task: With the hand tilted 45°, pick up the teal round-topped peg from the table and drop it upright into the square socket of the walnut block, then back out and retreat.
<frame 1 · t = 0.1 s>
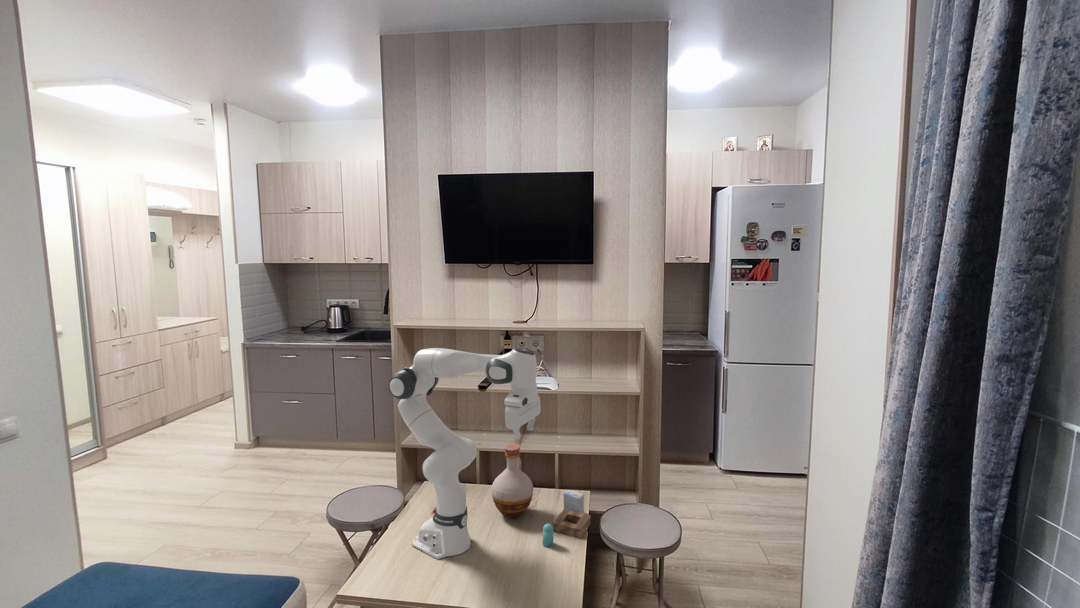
hand: (524, 434, 163), 48 cm above the table, tool pointing down, fingers open, 8 cm apart
jug: (513, 513, 203), on the table
peg: (548, 544, 180), on the table
medicine box: (573, 513, 203), on the table
socket block: (571, 527, 192), on the table
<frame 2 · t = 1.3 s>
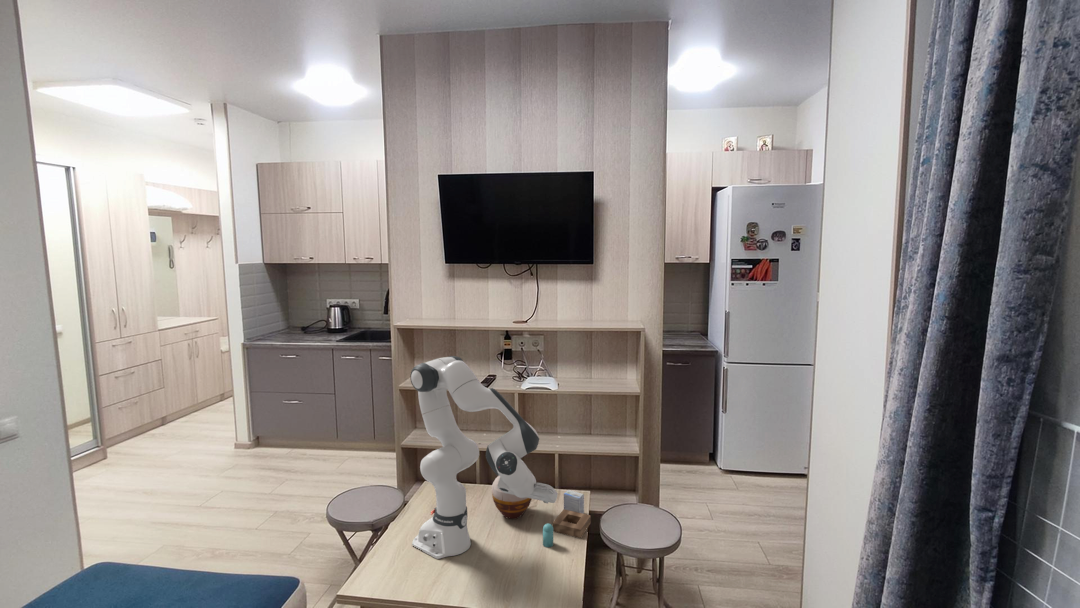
hand: (534, 498, 167), 24 cm above the table, tool tilted 45°, fingers open, 8 cm apart
nothing on the table moved.
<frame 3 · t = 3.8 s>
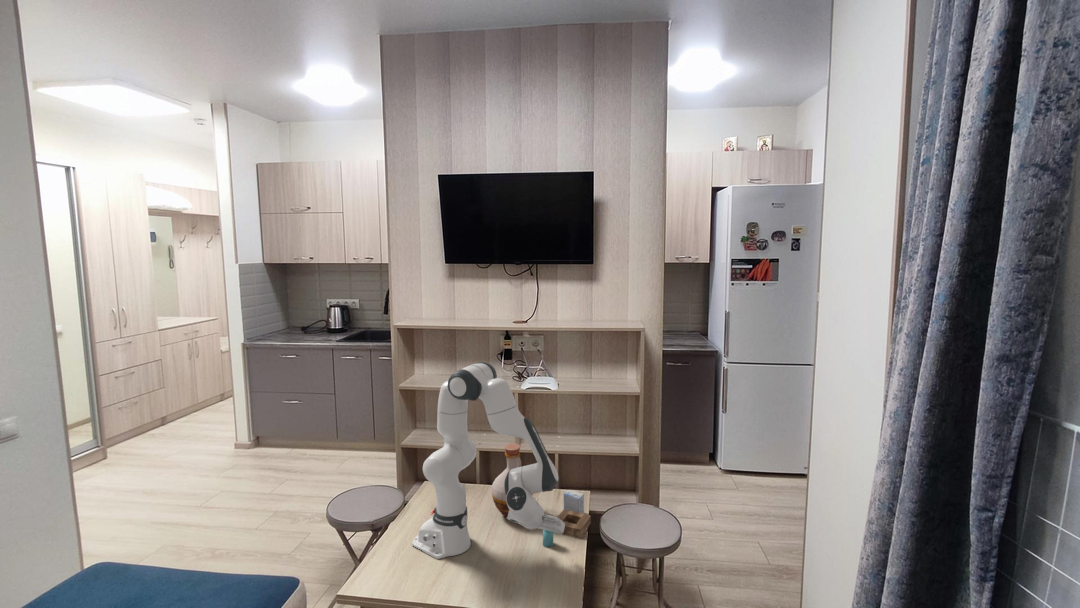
hand: (542, 527, 174), 9 cm above the table, tool tilted 45°, fingers open, 8 cm apart
nothing on the table moved.
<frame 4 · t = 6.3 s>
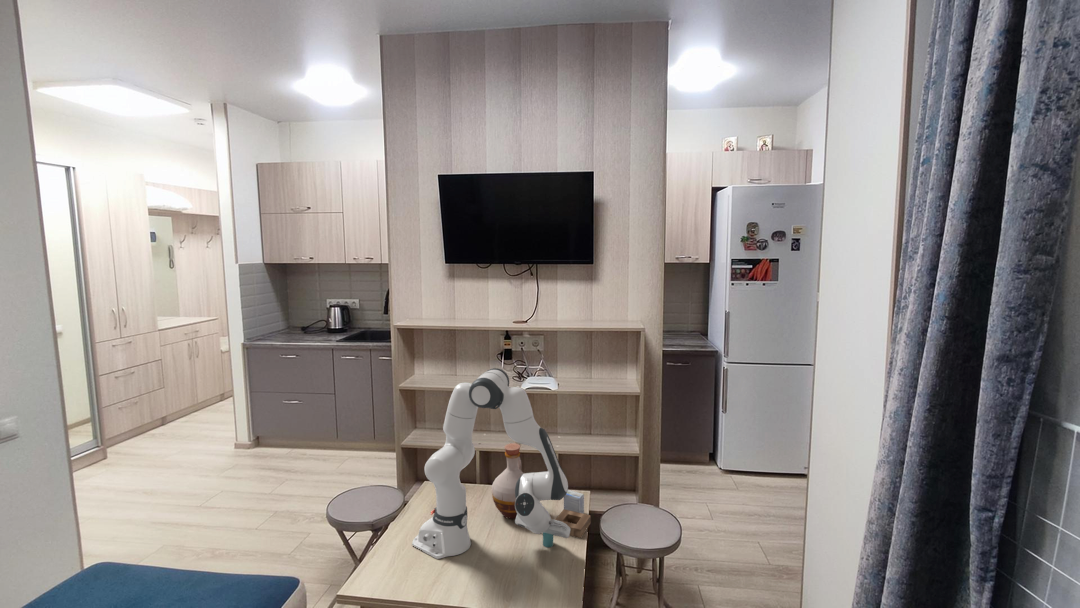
hand: (548, 531, 180), 5 cm above the table, tool tilted 45°, fingers closed on peg, 4 cm apart
peg: (548, 544, 180), on the table, touching gripper
everything else where it was.
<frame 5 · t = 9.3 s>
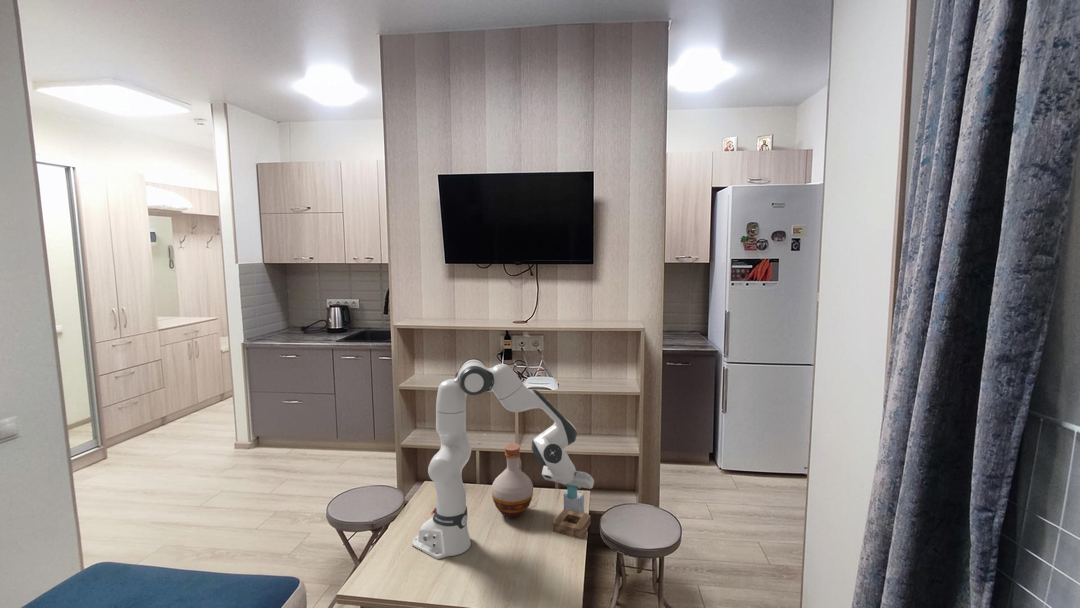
hand: (572, 485, 191), 18 cm above the table, tool tilted 45°, fingers closed on peg, 4 cm apart
peg: (572, 496, 191), point 13 cm above the table, touching gripper
everything else where it was.
when the fingers open (6 cm above the table, at t = 12.3 s): peg stays where it is, resting in socket block.
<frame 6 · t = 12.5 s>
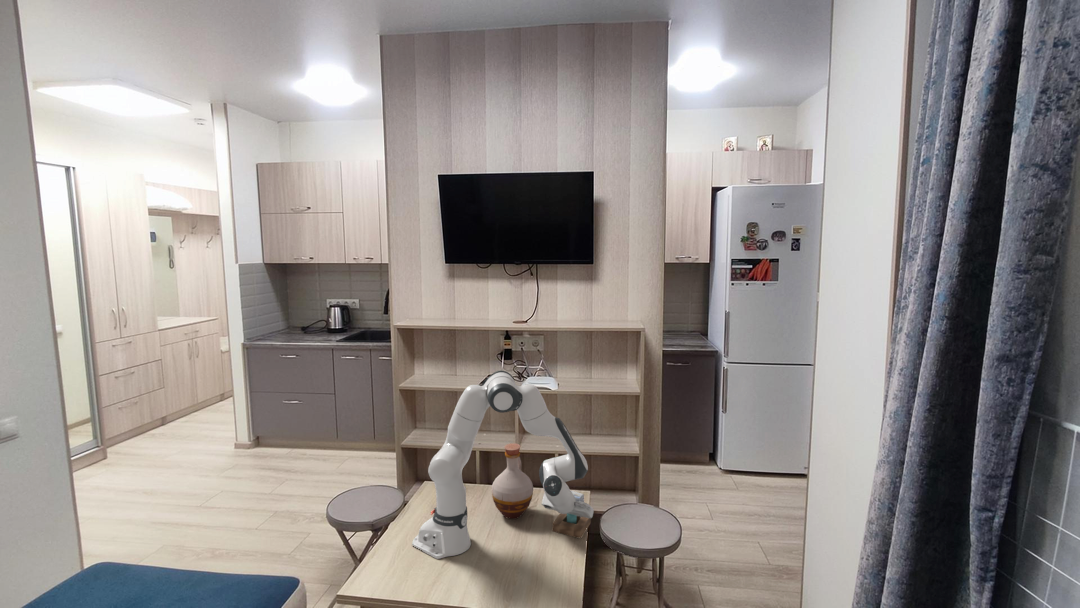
hand: (572, 513, 192), 6 cm above the table, tool tilted 45°, fingers open, 5 cm apart
peg: (571, 527, 192), resting in socket block
everything else where it was.
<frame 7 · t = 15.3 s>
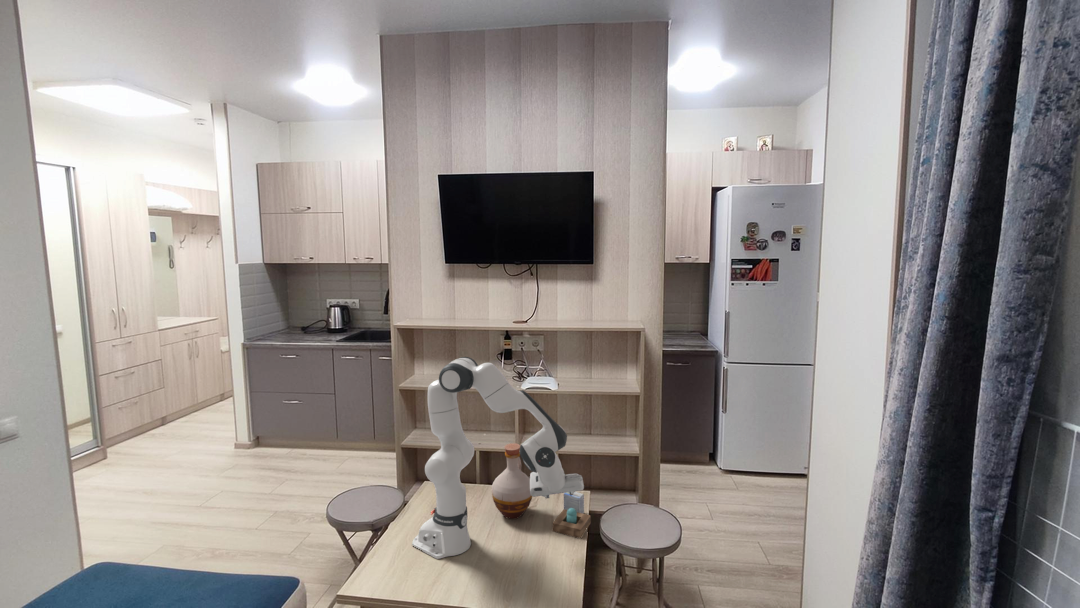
hand: (559, 495, 180), 19 cm above the table, tool tilted 40°, fingers open, 8 cm apart
nothing on the table moved.
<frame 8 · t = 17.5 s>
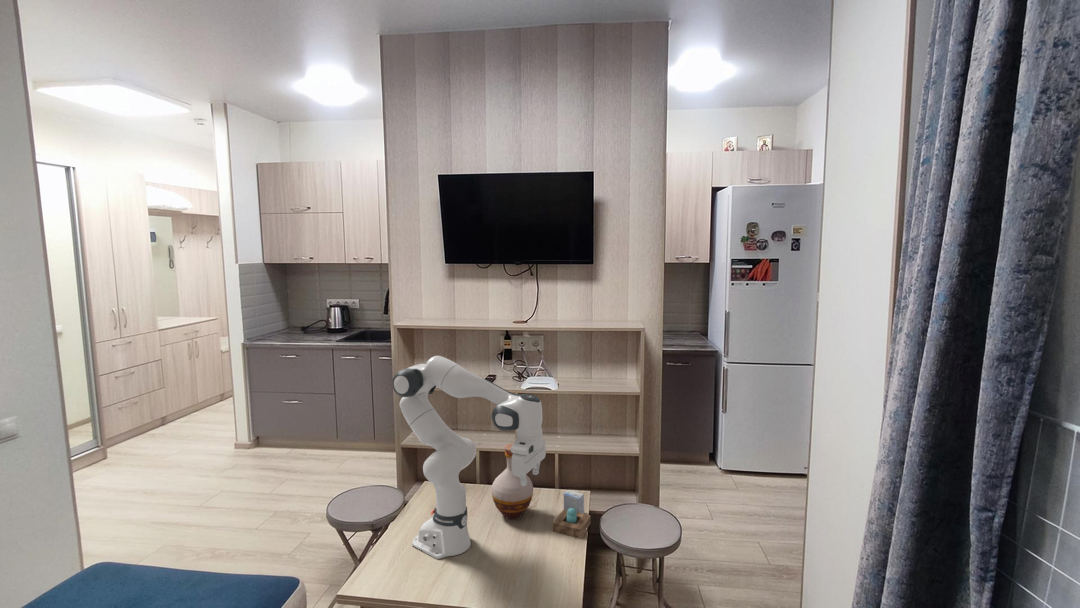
hand: (529, 479, 165), 31 cm above the table, tool pointing down, fingers open, 8 cm apart
nothing on the table moved.
at the end: peg 0.1 cm off-centre on the socket block, point 0.0 cm above the socket block's base; peg tilted 0°; the gripper is holding nothing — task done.
